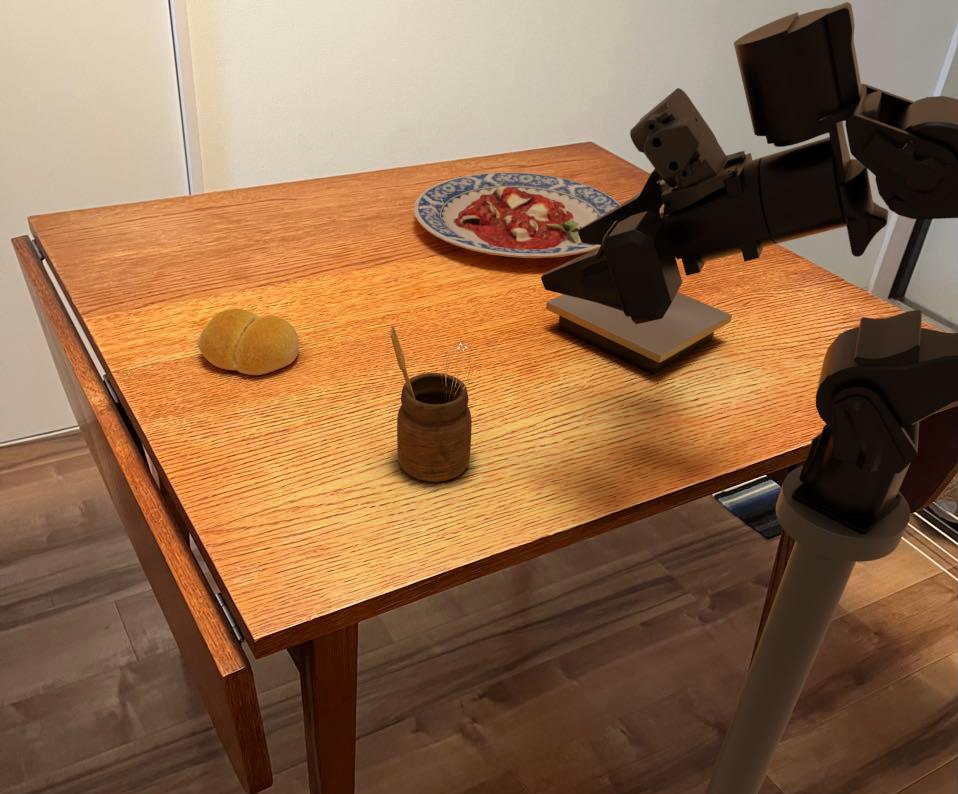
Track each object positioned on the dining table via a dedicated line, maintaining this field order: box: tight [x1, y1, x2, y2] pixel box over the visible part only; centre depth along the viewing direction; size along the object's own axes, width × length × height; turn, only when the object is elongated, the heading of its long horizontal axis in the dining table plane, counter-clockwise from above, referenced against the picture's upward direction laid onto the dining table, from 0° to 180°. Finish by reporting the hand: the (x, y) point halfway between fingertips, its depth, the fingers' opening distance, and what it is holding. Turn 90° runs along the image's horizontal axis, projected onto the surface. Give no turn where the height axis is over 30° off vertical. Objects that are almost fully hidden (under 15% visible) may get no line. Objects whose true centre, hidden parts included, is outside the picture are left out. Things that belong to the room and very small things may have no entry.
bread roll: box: [197, 307, 300, 376], centre depth 86 cm, size 8×9×4 cm
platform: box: [545, 291, 733, 376], centre depth 92 cm, size 14×12×3 cm
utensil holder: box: [389, 324, 476, 483], centre depth 71 cm, size 6×6×12 cm
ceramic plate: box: [413, 171, 621, 259], centre depth 111 cm, size 26×26×3 cm
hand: (562, 258), depth 70 cm, fingers open, 9 cm apart
